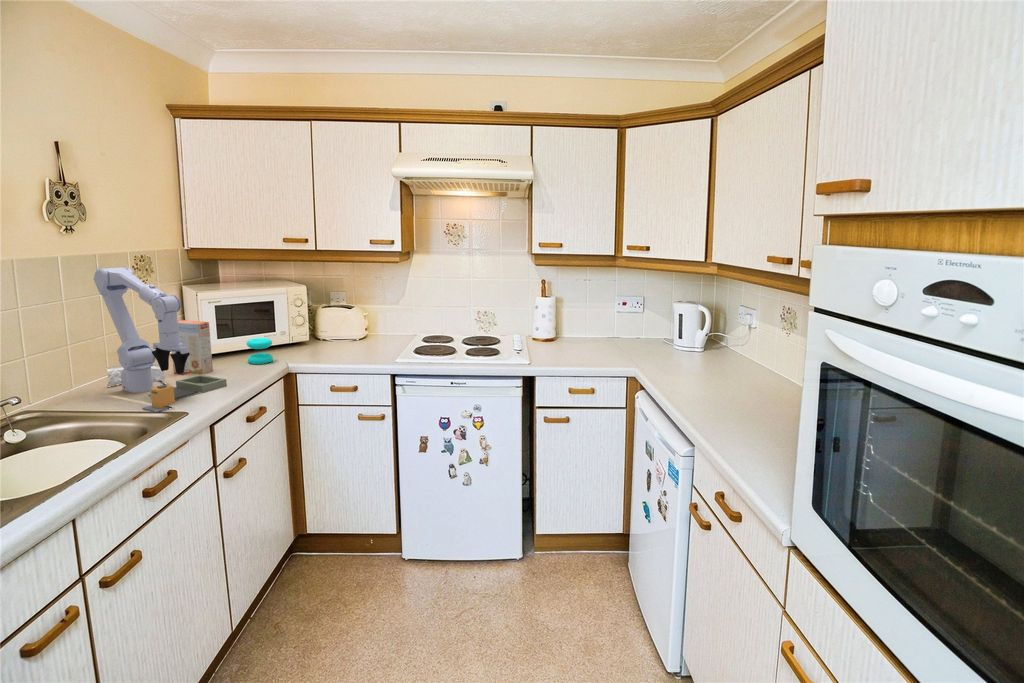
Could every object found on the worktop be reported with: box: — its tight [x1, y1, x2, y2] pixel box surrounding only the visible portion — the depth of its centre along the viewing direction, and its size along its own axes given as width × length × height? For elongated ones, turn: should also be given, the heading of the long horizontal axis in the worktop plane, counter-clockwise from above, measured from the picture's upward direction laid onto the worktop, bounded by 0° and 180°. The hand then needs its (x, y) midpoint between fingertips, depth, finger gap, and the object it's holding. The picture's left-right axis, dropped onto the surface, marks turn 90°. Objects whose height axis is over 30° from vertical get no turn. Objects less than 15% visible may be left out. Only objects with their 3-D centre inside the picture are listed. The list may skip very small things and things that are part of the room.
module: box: [149, 384, 176, 409], centre depth 185 cm, size 4×5×7 cm
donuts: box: [246, 337, 274, 365], centre depth 246 cm, size 10×10×10 cm
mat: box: [141, 404, 173, 413], centre depth 185 cm, size 7×8×1 cm
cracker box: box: [171, 319, 214, 375], centre depth 225 cm, size 14×6×21 cm, turn 74°
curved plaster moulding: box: [105, 363, 169, 388], centre depth 208 cm, size 11×20×8 cm, turn 114°
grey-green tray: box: [148, 374, 228, 402], centre depth 201 cm, size 13×20×4 cm, turn 157°
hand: (172, 371), depth 193 cm, fingers open, 7 cm apart
